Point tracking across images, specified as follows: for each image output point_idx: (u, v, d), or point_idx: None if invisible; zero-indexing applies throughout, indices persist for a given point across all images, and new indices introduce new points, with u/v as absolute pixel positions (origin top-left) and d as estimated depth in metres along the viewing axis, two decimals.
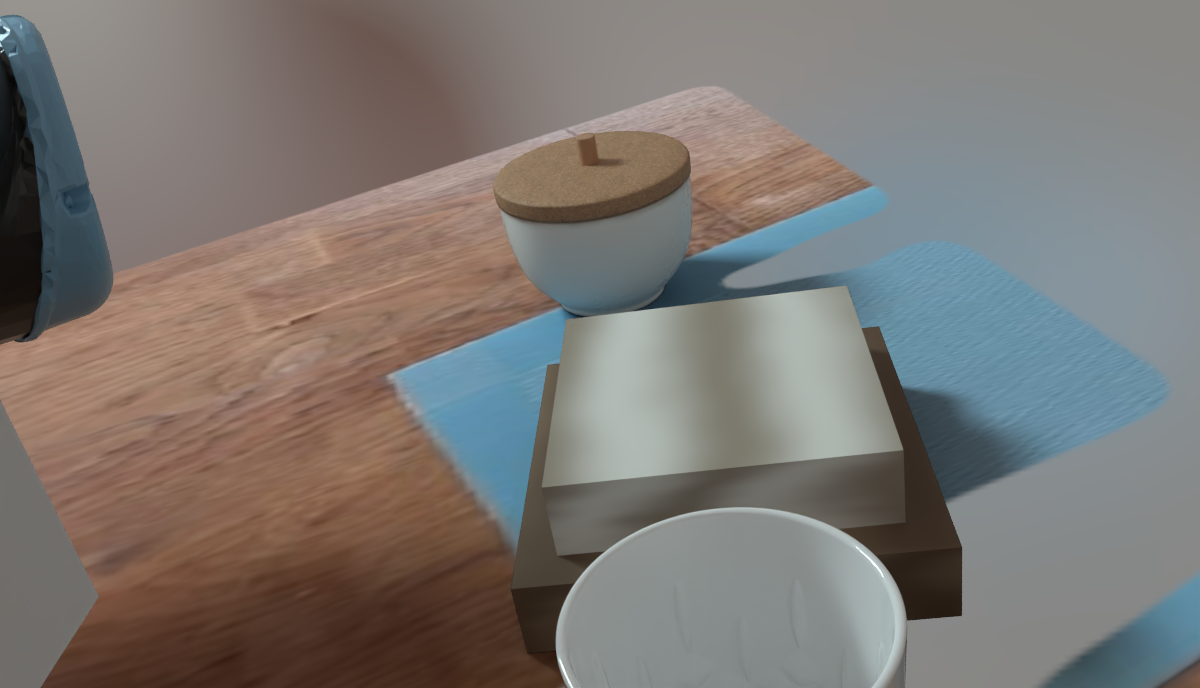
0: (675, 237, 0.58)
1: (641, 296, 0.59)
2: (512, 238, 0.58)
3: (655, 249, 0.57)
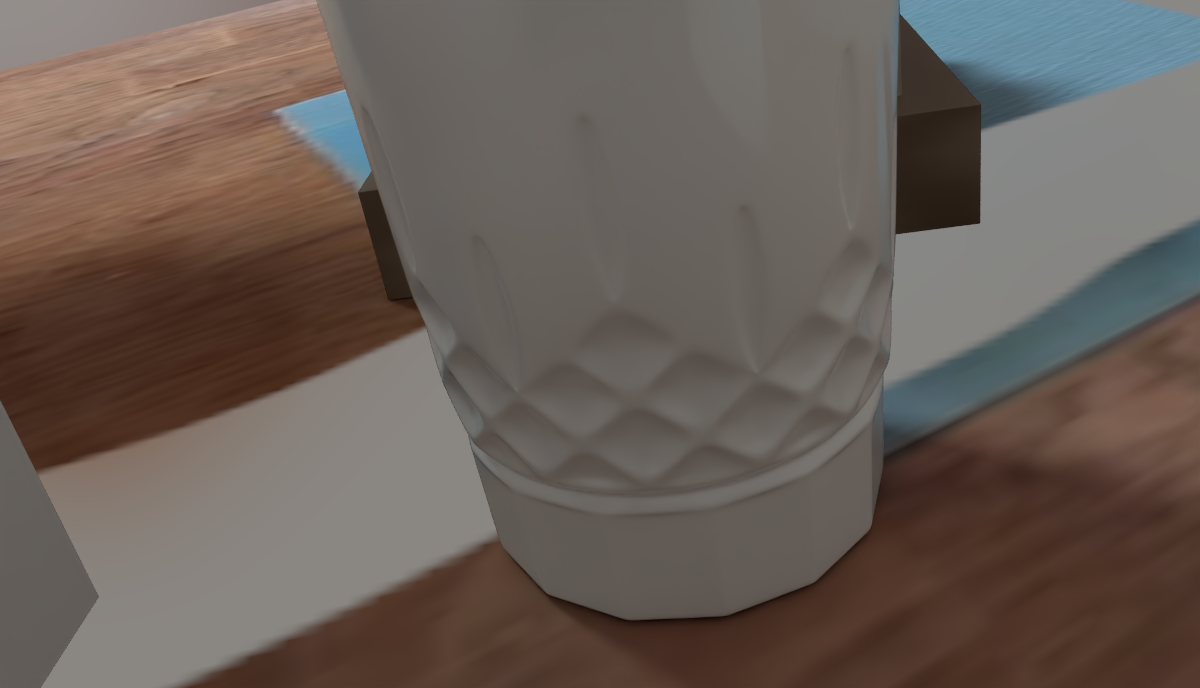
0: None
1: None
2: None
3: None
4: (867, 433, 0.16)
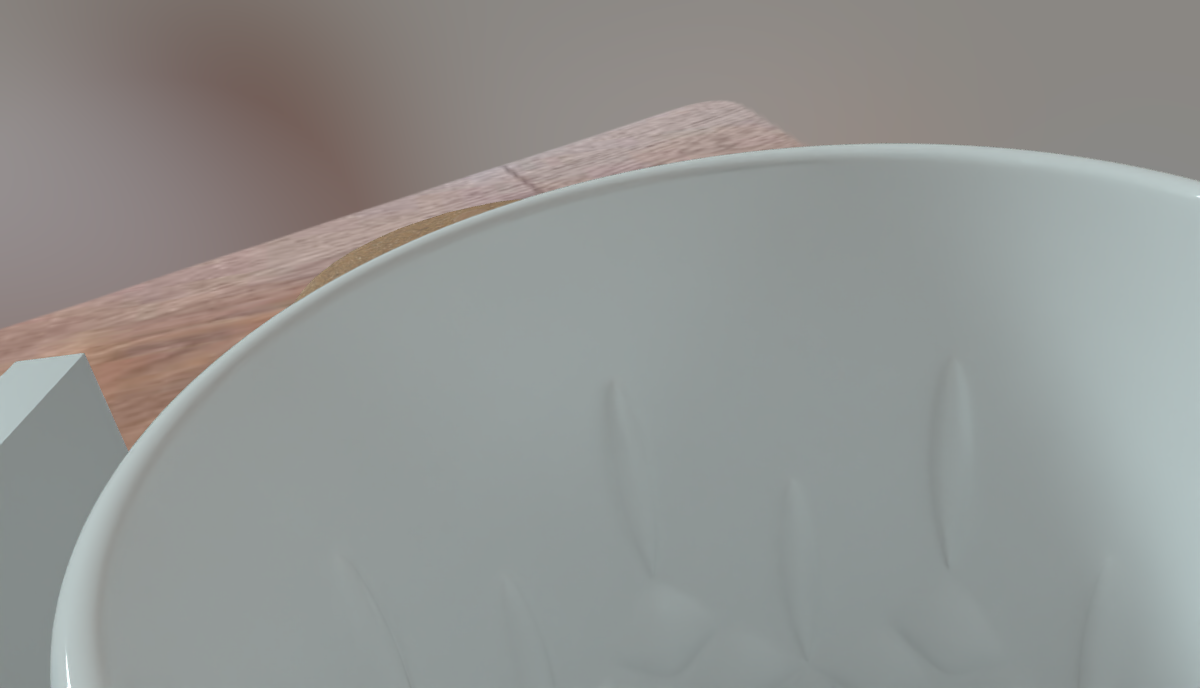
0: None
1: None
2: None
3: None
4: None
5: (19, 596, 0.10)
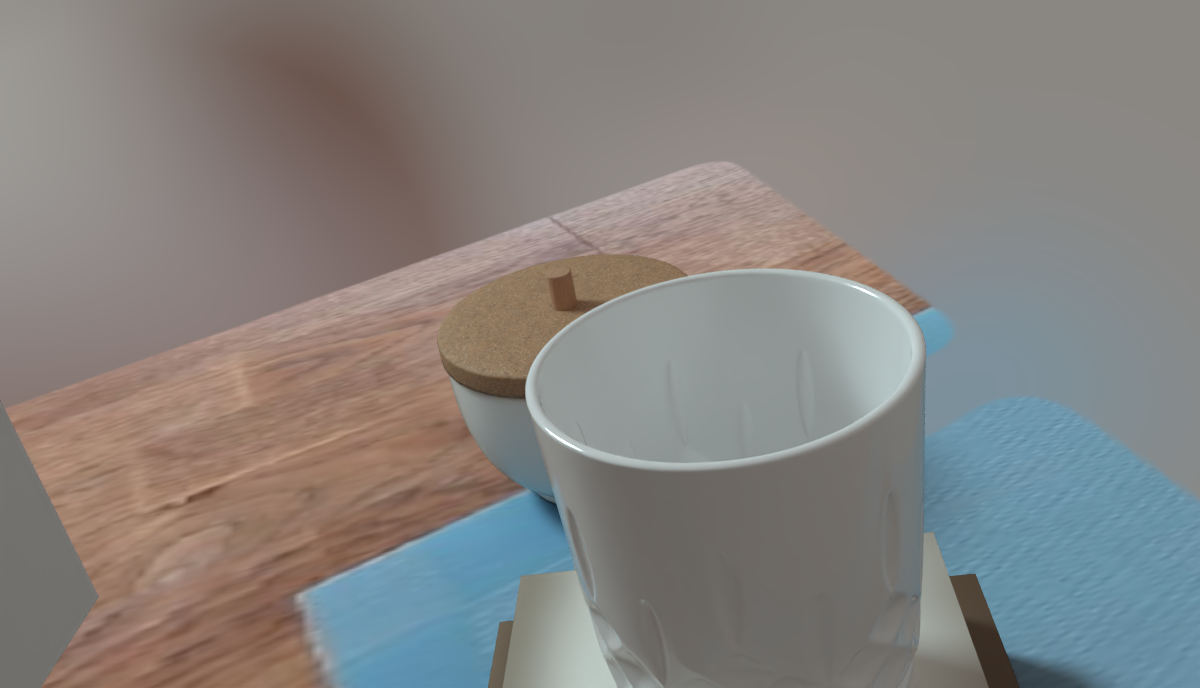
0: None
1: None
2: (462, 408, 0.44)
3: None
4: None
5: None
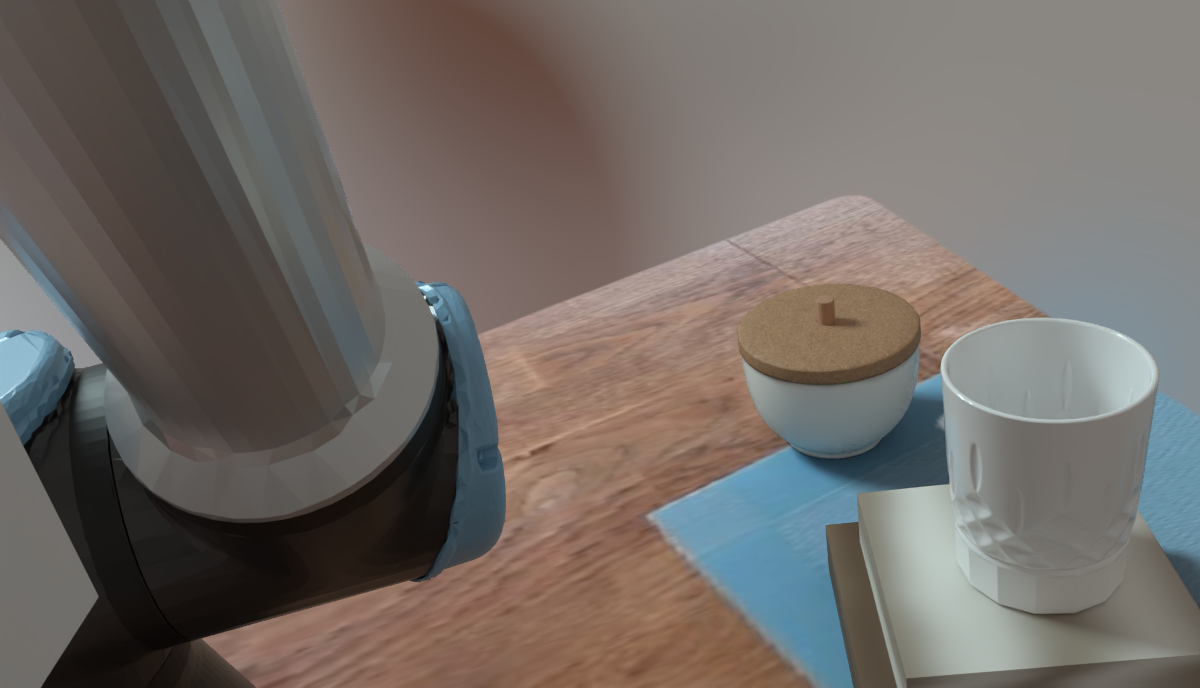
0: (909, 392, 0.64)
1: (873, 442, 0.65)
2: (758, 391, 0.65)
3: (894, 404, 0.63)
4: (1127, 546, 0.45)
5: None
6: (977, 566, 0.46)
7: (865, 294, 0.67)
